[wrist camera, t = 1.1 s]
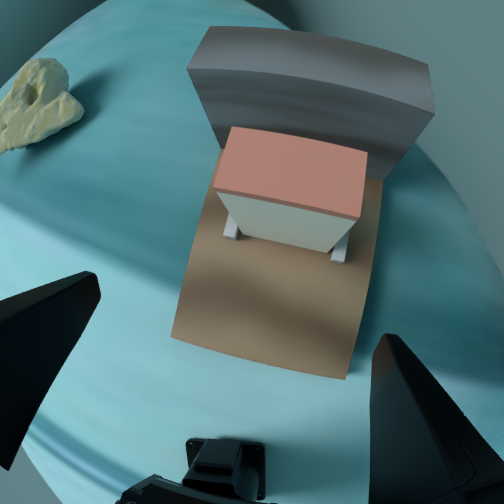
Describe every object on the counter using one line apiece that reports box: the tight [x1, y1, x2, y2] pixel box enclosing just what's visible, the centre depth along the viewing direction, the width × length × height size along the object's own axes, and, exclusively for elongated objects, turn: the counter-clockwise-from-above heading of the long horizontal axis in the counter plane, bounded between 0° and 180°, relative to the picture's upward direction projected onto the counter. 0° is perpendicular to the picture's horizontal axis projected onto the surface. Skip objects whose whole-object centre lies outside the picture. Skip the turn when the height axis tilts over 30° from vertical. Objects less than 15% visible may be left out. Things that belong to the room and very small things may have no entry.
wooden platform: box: [171, 26, 435, 380], centre depth 17 cm, size 19×13×11 cm
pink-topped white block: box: [213, 126, 368, 253], centre depth 16 cm, size 3×6×9 cm, turn 76°
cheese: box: [0, 58, 85, 154], centre depth 25 cm, size 15×7×15 cm
